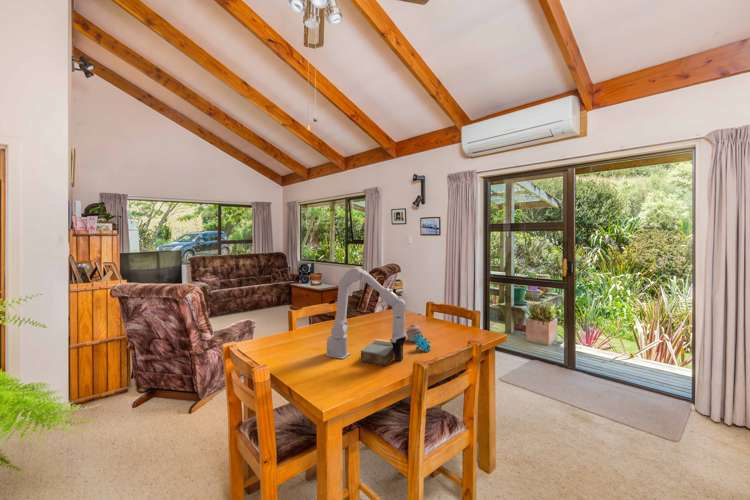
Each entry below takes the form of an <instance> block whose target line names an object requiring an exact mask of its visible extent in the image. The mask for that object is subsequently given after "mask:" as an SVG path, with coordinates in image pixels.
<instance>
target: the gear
mask: <svg viewBox="0 0 750 500" xmlns="http://www.w3.org/2000/svg"><path fill="white" fill-rule="evenodd" d="M414 341H416V342H414V345H415V346H416V347H415V348H416V350H420V351H421V352H422V353H428V352H430V350H431V349H430V348H431V347H432V346H431V345H430V343H432V341H431V340H428V338H427V337H425V338H424V334H422V335H421V337H420V334H418V335H416V336H415V339H414Z"/></svg>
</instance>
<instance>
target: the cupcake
mask: <svg viewBox="0 0 750 500" xmlns="http://www.w3.org/2000/svg"><path fill="white" fill-rule="evenodd" d="M405 334H407V337H406V338H407V340H408V342H410V343H415V342H416V341H414V339H415V336H416V335H418V334H420V338H421V335H423V331H422V329H421V328H420V326H419V325H417V324H416V322H414V323H411V324H410V326H408V328H407V330H405Z"/></svg>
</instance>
